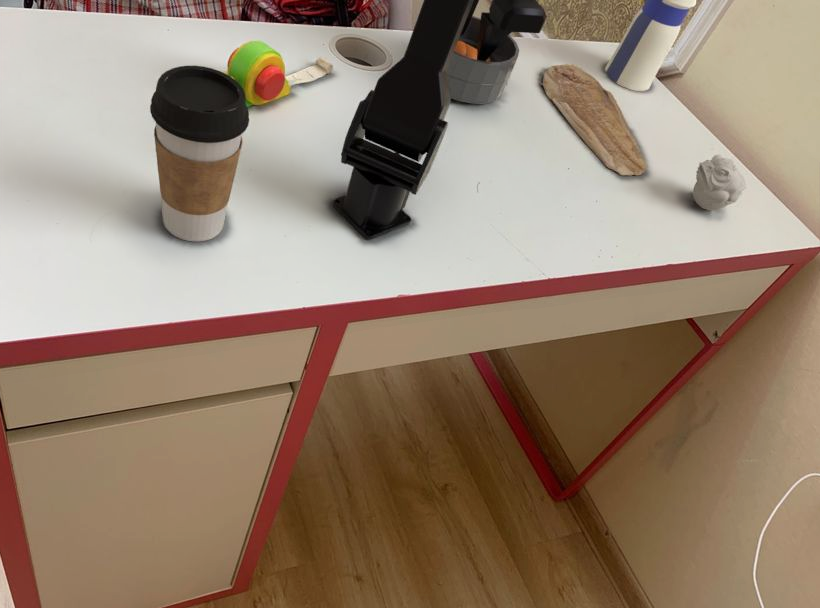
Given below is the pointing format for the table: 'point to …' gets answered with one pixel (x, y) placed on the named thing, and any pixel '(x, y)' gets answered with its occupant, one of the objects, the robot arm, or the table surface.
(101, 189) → the table surface
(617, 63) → the water bottle
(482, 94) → the grey round pot
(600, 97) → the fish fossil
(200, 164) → the coffee cup
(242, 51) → the toy measuring tape
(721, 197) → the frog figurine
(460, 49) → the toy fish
